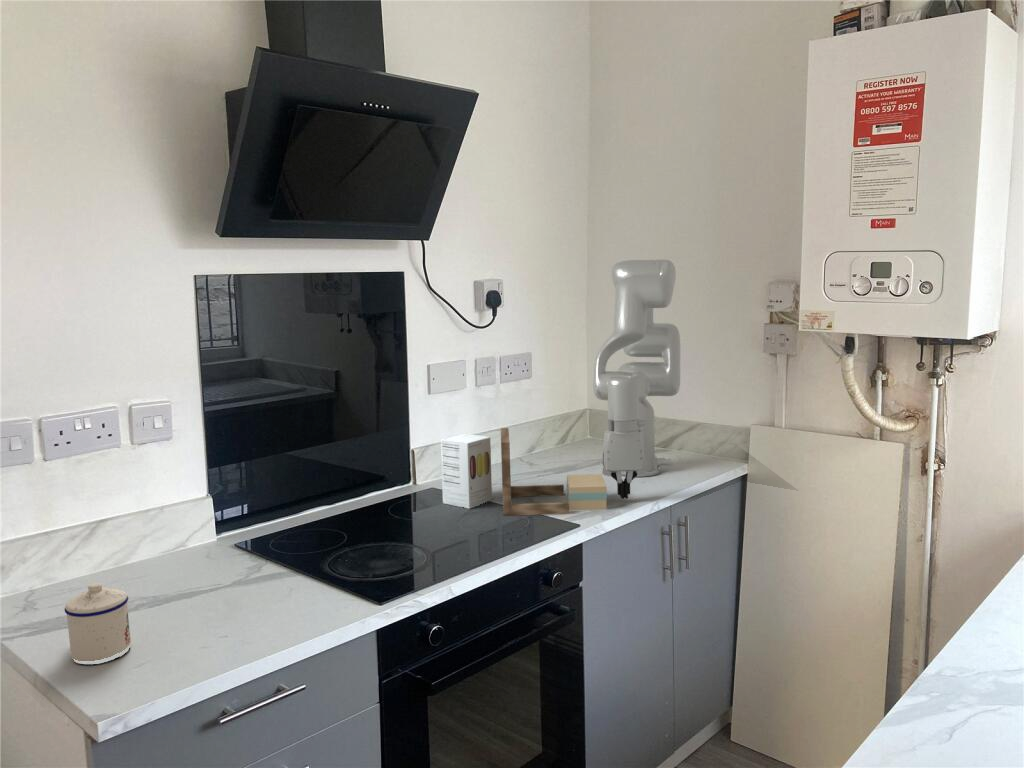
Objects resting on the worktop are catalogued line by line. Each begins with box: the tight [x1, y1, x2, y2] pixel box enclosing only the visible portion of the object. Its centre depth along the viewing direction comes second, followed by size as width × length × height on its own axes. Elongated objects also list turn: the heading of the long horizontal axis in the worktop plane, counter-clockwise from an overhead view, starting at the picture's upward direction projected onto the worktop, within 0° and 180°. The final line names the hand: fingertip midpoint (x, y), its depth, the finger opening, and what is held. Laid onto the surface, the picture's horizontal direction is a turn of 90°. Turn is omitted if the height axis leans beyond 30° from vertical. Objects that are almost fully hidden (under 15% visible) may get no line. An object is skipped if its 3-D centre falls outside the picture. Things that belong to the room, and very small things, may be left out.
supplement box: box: [440, 433, 493, 510], centre depth 211 cm, size 10×9×17 cm
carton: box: [566, 473, 608, 511], centre depth 209 cm, size 9×12×6 cm
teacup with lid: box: [64, 582, 132, 661], centre depth 133 cm, size 12×9×12 cm
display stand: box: [500, 427, 571, 517], centre depth 208 cm, size 16×17×18 cm
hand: (623, 497), depth 209 cm, fingers closed
